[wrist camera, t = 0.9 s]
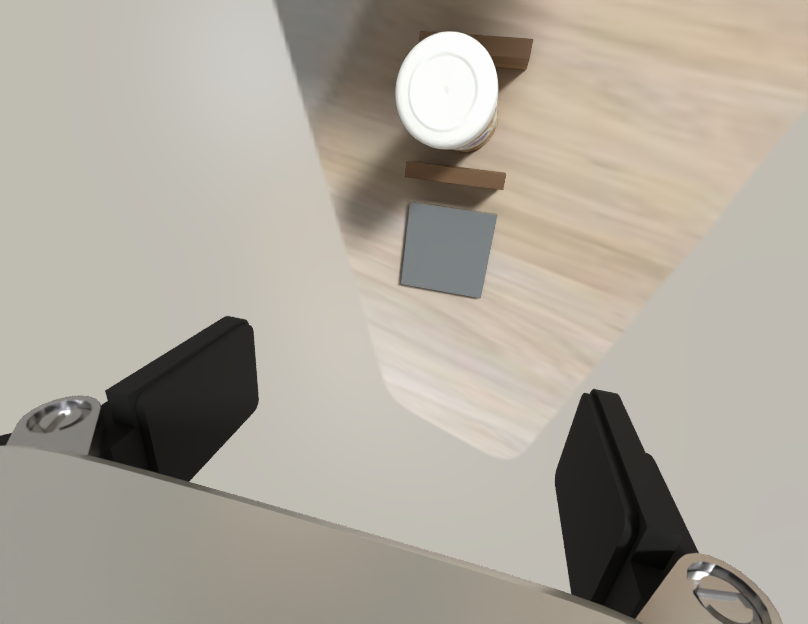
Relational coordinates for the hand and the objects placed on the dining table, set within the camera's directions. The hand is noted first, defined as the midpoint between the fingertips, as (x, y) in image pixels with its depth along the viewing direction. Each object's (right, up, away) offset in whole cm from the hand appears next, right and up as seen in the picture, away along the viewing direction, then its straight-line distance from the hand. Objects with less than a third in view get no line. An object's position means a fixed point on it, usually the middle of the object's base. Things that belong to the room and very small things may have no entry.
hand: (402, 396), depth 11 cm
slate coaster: (+4, +8, +22) cm, 24 cm away
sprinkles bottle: (+5, +17, +18) cm, 25 cm away
